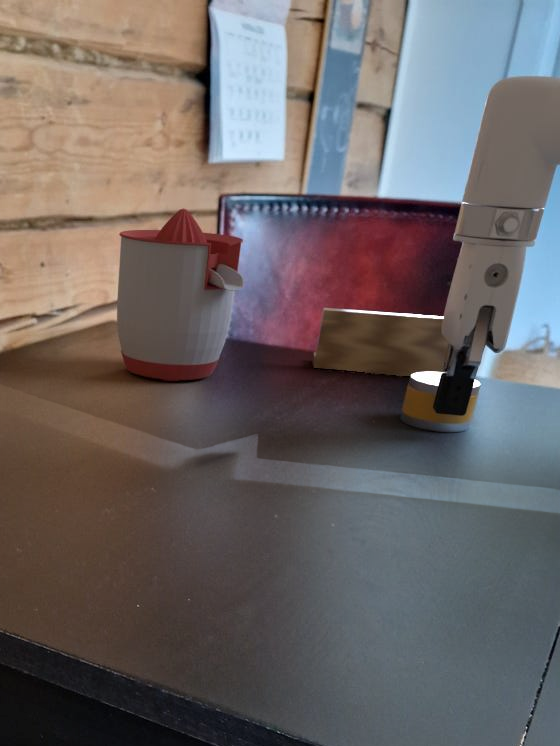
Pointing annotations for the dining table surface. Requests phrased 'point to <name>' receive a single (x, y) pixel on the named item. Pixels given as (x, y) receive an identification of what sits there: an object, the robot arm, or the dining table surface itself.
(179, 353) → the citrus juicer
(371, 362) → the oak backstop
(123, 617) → the dining table surface
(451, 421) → the tin can
